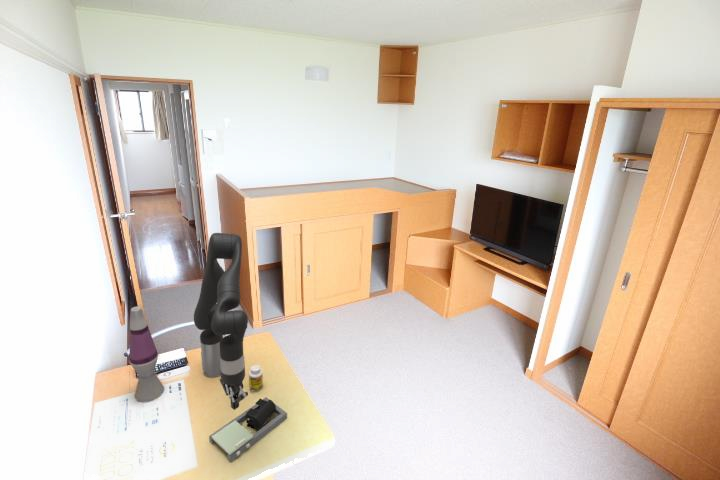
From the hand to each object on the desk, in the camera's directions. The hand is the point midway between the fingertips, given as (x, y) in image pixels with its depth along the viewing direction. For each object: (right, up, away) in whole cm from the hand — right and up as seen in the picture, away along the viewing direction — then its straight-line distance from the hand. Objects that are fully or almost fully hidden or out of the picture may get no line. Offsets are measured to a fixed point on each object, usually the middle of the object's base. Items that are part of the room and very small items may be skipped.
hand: (235, 407), depth 128 cm
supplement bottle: (-2, -7, +35) cm, 36 cm away
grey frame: (0, -15, +14) cm, 20 cm away
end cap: (+4, -14, +19) cm, 23 cm away
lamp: (-45, -7, +28) cm, 53 cm away
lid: (-4, -14, +7) cm, 16 cm away
